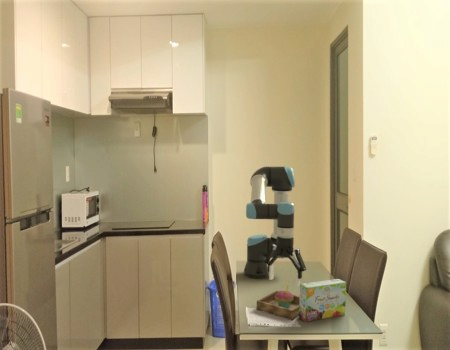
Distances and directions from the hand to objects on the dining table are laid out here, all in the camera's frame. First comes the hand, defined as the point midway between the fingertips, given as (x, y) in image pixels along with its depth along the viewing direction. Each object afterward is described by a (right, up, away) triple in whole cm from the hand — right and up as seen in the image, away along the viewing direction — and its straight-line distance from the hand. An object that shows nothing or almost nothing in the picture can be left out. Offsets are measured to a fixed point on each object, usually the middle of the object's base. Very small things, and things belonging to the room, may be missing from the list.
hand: (284, 282), depth 173 cm
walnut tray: (0, -12, 0) cm, 12 cm away
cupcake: (0, -11, 0) cm, 11 cm away
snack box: (+15, -13, -8) cm, 22 cm away
